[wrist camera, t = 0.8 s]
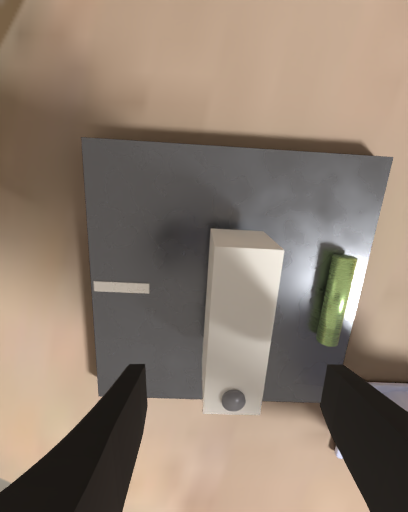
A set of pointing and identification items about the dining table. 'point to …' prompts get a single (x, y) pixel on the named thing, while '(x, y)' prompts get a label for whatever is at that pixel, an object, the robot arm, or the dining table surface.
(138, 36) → the dining table surface
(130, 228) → the base
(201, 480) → the dining table surface
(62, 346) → the dining table surface
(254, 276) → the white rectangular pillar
